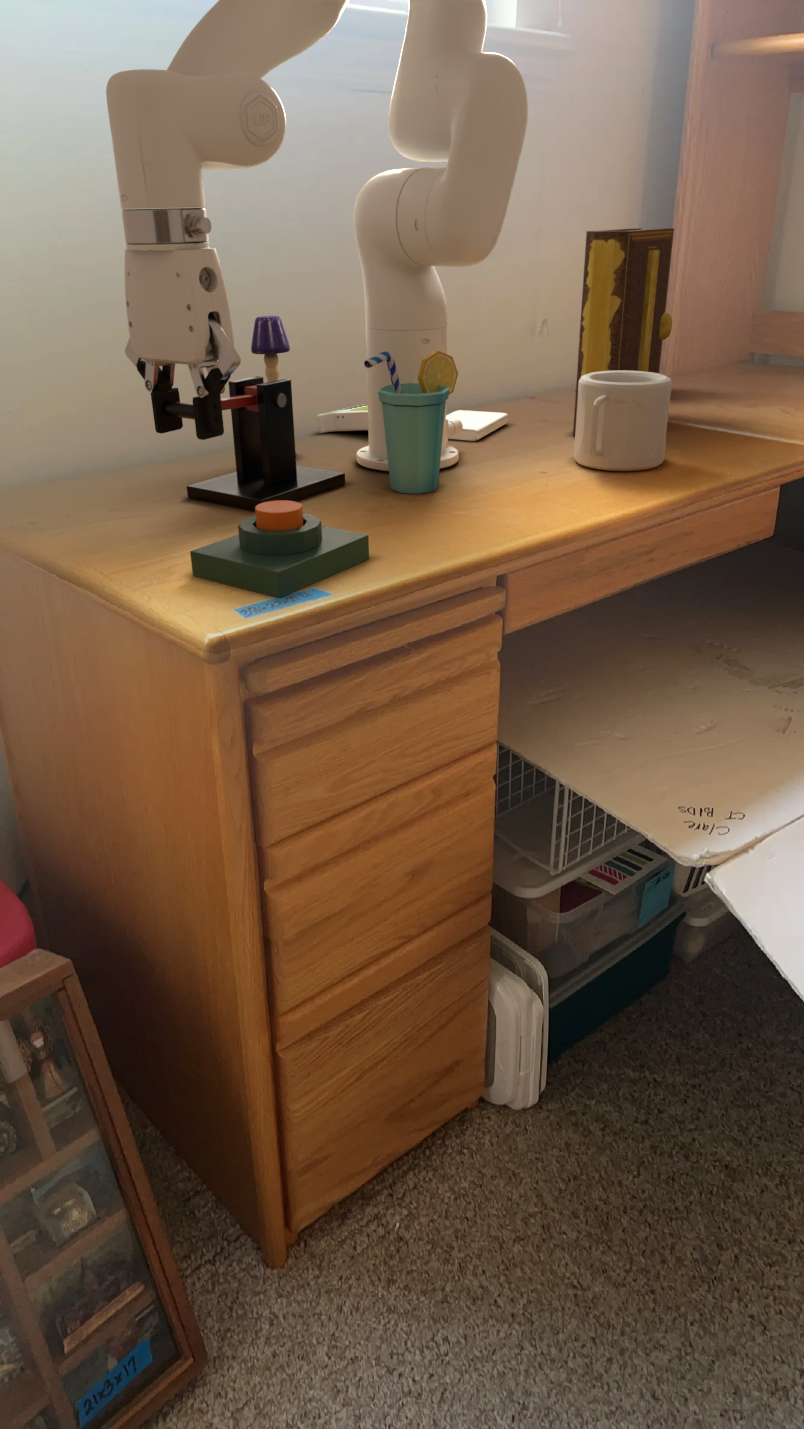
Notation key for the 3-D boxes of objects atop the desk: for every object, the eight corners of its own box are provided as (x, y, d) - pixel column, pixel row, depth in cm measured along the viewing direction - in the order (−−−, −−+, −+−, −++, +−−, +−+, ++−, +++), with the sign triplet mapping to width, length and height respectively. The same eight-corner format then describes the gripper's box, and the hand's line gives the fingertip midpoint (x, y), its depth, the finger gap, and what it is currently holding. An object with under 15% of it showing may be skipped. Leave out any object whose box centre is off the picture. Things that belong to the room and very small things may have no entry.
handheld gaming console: (400, 409, 128) (315, 412, 137) (403, 431, 129) (318, 433, 138) (449, 397, 136) (365, 401, 145) (451, 418, 137) (368, 421, 146)
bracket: (262, 512, 102) (252, 394, 96) (187, 497, 107) (174, 385, 102) (345, 484, 112) (341, 375, 106) (273, 471, 118) (266, 368, 112)
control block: (285, 540, 93) (282, 498, 91) (369, 558, 88) (368, 514, 86) (192, 575, 84) (187, 530, 83) (280, 598, 79) (276, 550, 77)
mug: (596, 448, 126) (602, 367, 122) (676, 458, 121) (686, 373, 116) (547, 470, 117) (552, 382, 112) (633, 481, 111) (641, 389, 107)
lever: (198, 426, 96) (196, 400, 95) (163, 421, 98) (160, 396, 97) (287, 410, 105) (287, 386, 104) (253, 405, 108) (252, 383, 107)
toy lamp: (253, 460, 123) (241, 317, 116) (271, 452, 127) (260, 313, 119) (286, 463, 122) (277, 318, 114) (304, 455, 125) (295, 314, 118)
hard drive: (455, 409, 144) (421, 424, 134) (508, 412, 141) (478, 428, 131) (455, 421, 145) (421, 436, 135) (508, 424, 142) (477, 441, 132)
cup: (399, 508, 102) (397, 356, 96) (342, 497, 107) (336, 351, 100) (473, 481, 112) (476, 341, 105) (418, 472, 116) (418, 337, 110)
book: (621, 441, 130) (639, 231, 119) (560, 435, 134) (572, 231, 123) (667, 413, 147) (687, 227, 136) (612, 409, 151) (627, 227, 140)
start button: (278, 517, 87) (276, 497, 86) (312, 524, 85) (311, 504, 84) (246, 528, 84) (245, 508, 83) (282, 535, 82) (280, 515, 81)
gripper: (263, 230, 88) (278, 436, 97) (135, 230, 97) (159, 419, 105) (203, 233, 83) (224, 451, 91) (73, 233, 92) (104, 431, 100)
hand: (189, 431), depth 98 cm, fingers closed on lever, 5 cm apart
